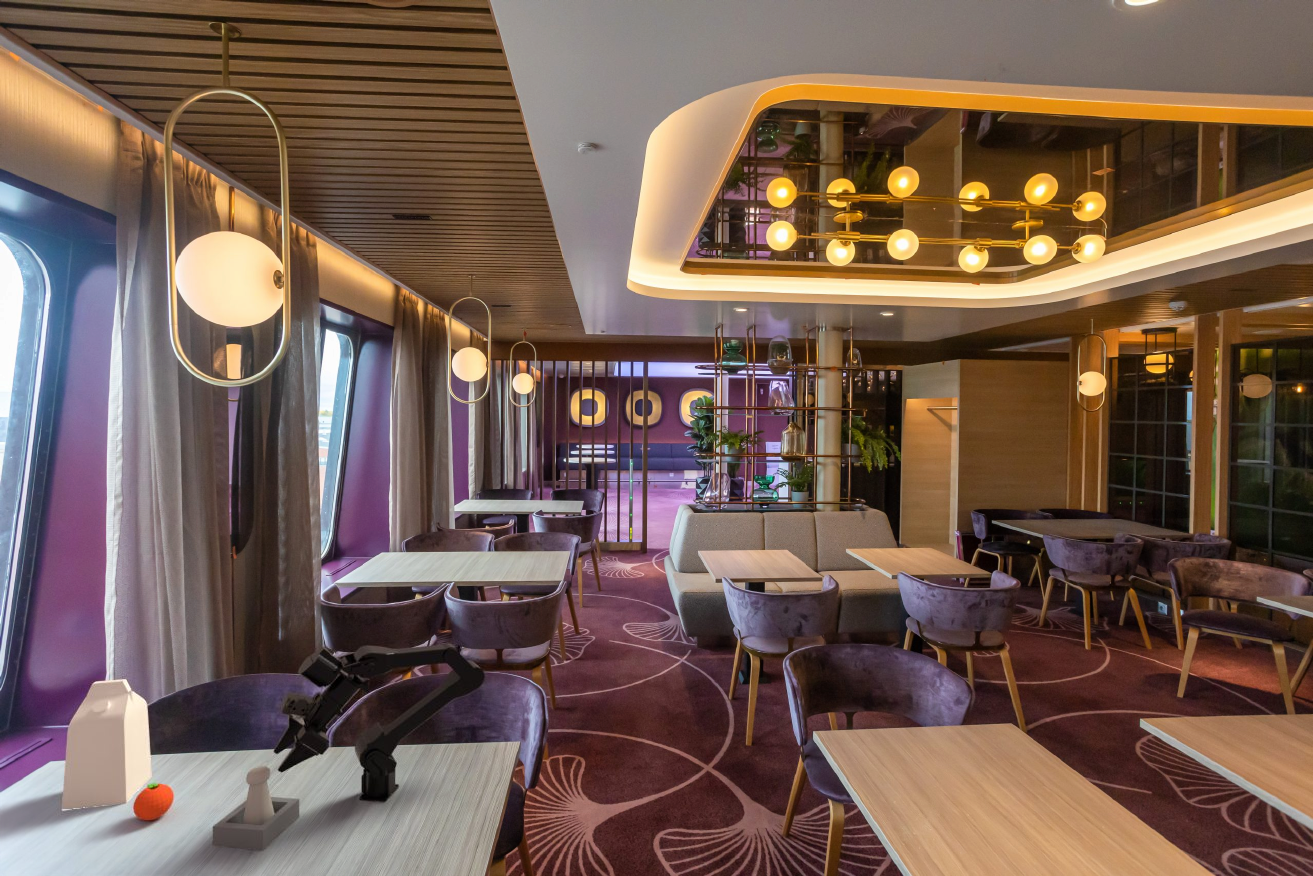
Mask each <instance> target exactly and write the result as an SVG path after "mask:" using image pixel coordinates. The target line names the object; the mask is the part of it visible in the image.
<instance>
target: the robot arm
mask: <svg viewBox="0 0 1313 876" xmlns="http://www.w3.org/2000/svg"><path fill="white" fill-rule="evenodd" d="M439 664H447V665H448V666H449V667H450V668H451V671H449V673H448V674H447V676H446V678H445V679H444V681H443V682H442V683H441V684H440V685H439V686H437V687H436V688H435V689H433V690H432V691H430V693H428V694H427V695H425V696H424V697H423V698H421V700H419V701H418V702H417V703H415V704H413V705H412V706H411V707H410V708H409V709H407V710H406V711H404V712H403V713H402V714H401V715H399V716H398V717H397V718H395V719H394V720H392V721H391V722H390V723H388V724H385V725H380V723H379V722H375V723H374V724H373V725H372V726H371V727H370V728H368V729H367V730H365V731H363V732H361V733H360V734H361V736H360V737H359V738H357V740H356V742H355V746H354V752H355V755H356V757H357V760H358V761H359V764H360V766H361V767H362V768H363V771H362V772H363V773H362V775H361V783H360V785H361V787H360V788H361V789H360V792H361V795H359V797H358V800H359V801H365V802H366V801H367V802H383V803H384V802H387V801H388V799H389V798H390V797H391V796H392V795H393V794H394V793H395V792H396V791H397V790H398V789H399V787H400V785H399V784H398V783H396V767H397V764H398V763H397V761H396V759H395V757H394V756H393V753H394V752H395V749H396V748H397V747H398V746H399V744H400V742H401V741H402V740H403V739H405V737H408V735H410V734H411V733H412V732H413V731H415V730H416V729H417V728H420V726H421V725H423V724H424V723H425V722H427V720H429V719H430V718H431V717H433V716H434V715H436V713H438V712H439V711H441V710H442V709H443V708H444V707H446V706H447V705H448V704H450V703H451V702H452V701H454V700H456V699H460V698H462V697H465V696H468V695H470V694H471V693H473V692H474V691H475V692H476V691H477V690H479V689H480V688H481V687H482V686H483V684H484V682H485V681H484V680H485V678H486V677H485V671H484V670H483V669H482V668H481V667H479V665H477V664H476V663H475V662H474V661H472V660H470V659H466V658H464V656H462V654H460V652H459V650H458V649H457V647H455V646H454V645H453V644H451V643H448V642H447V643H443V644H434V645H425V646H415V647H414V646H413V647H402V648H390V647H385V646H378V645H362V646H360V647H359V648H358V649H357V650H356V651H353V652H351V653H347V654H343V655H341V656H338V657H336V655H334V654H333V653H331V652H330V651H329V650H328V649H327V648H326V647H325V646H321V647H320V648H319V650H316V651H314V652H313V653H312V654H310V655H309V656H307V657H306V658H305V660H304V661H303V662H302V663H301V665H300V666H299V668H298V671H297V673H298V674H299V675H301V677H303V678H305V679H306V680H307V681H309V682H310V683H312V684H313V685H315V686H316V687H318V688H322V687H325V689H324V690H323V691H322V692H321V691H318V692H316V693H315V694H313V696H309V695H306V694H303V693H295V692H292V691H291V692H290V691H287V692H286V693H285V695H284V697H283V699H282V701H281V703H280V706H279V708H280V709H281V710H280V712H281V713H282V714H284V715H287V726H286V728H285V729H284V732H283V733H282V735H281V737H280V738H279V741H278V743H277V744H276V746H275V748H274V749H273V753H274V754H276V755H278V754H280V753H282V752H283V751H284V750H286V749H288V748H289V747H291V746H292V745H293V744H294V745H293V747H292V748H291V750H290V751H288V754H287V755H286V756H285V758H284V759H283V760H282V761H281V764H280V765H279V766H278V768H277V771H278V772H280V773H284V772H286V771H288V770H289V769H291V768H293V767H294V766H297V765H298V764H301V763H302V762H304V761H306V760H309V759H311V758H313V757H315V756H316V757H318V756H323V755H324V754H325V752H326V751H327V750H328V749H329V748H330V740H329V738H328V735H327V734H326V732H327V731H328V730H329V727H328V725H330V723H331V722H332V721H333V720H334V719H335V717H340V716H342V714H343V713H344V712H343V710H342V709H343V708H344V707H345V706H346V705H347V704H348V703H349V702H350V701H351V699H352V698H354V696H355V695H356V694H357V693H358V692H359V691H360V690H361V691H363V692H365V694H369V693H370V679H371V678H375V677H379V676H381V675H385V674H387V673H390V672H391V671H393V670H398V669H405V668H412V667H421V666H422V667H423V666H431V665H432V666H433V665H439Z"/></svg>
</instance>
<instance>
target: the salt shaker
mask: <svg viewBox="0 0 1313 876" xmlns="http://www.w3.org/2000/svg"><path fill="white" fill-rule="evenodd" d="M245 778H246V784H247V785H248V791H247V797H246V800H247V801H246V800H245V801H246V806H245V812H244V817H243V822H242V824H252V825H263V824H264V823H265V822H266V821H267V820H268V819H270V818H271V817H272V816H273V815H274V814H275V813H274V809H273V805H272V801H271V797H272V796H271V793H270V790H269V786H268V785H269V784H268V780H269V779H270V778H271V768H270V767H269V766H265V765H263V766H257V767H254V768H252V769H251V770H250V769H249V771H248V772H247V774H246V777H245Z"/></svg>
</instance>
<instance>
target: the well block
mask: <svg viewBox="0 0 1313 876" xmlns="http://www.w3.org/2000/svg"><path fill="white" fill-rule="evenodd" d="M270 797H271V801H272V805H273V809H274V813H275V814H274V815H273V816H272V817H271V818H270V819H268V820H267V821H266V822H265V823H264V824H263V825H252V824H242V822H243V817H244V812H245V806H246V801H247V799H246V800H245V801H244V802H242V803H241V804H240V805H238V806H237V807H236V808H235V809H233V810H232V811H231V812H229V813H228V814H227V815H225V816H224V817H223V818H222V819H220V820H219V821H218V822H217V823H215V824H213V826H212V847H219V848H221V847H222V848H232V849H233V848H234V849H246V850H256V851H259V850H260V851H264V850H265V849H266V848H268V846H270V844H272V843H273V842H274V841H275V840H276V839H277V838H278V837H279V836H280V835H281V834H282V833H284V832H285V831H286V830H287V829H288V828H289V827H290V826H291V825H292V824H293V823H295V821H297V820H298V819H299V818H300V798H293V797H292V798H291V797H278V796H270Z"/></svg>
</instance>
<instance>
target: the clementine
mask: <svg viewBox="0 0 1313 876" xmlns="http://www.w3.org/2000/svg"><path fill="white" fill-rule="evenodd" d="M174 797H175V795H174V791H173V789H172V787H170V786H169V785H168V784H165V783H157V782H152V783H149V784H147V787H145V788H144V789H142V790H141V791H140V792H139V794H138V795H136V798H135V799H134V802H133V806H132V808H133V813H134V816H136V817H137V818H138V819H139V820H142V821H153V820H156V819H158V818H160V817H162V816H163V815H164V814H167V812H168V810H170V808H171V807H172V805H173V803H174Z"/></svg>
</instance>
